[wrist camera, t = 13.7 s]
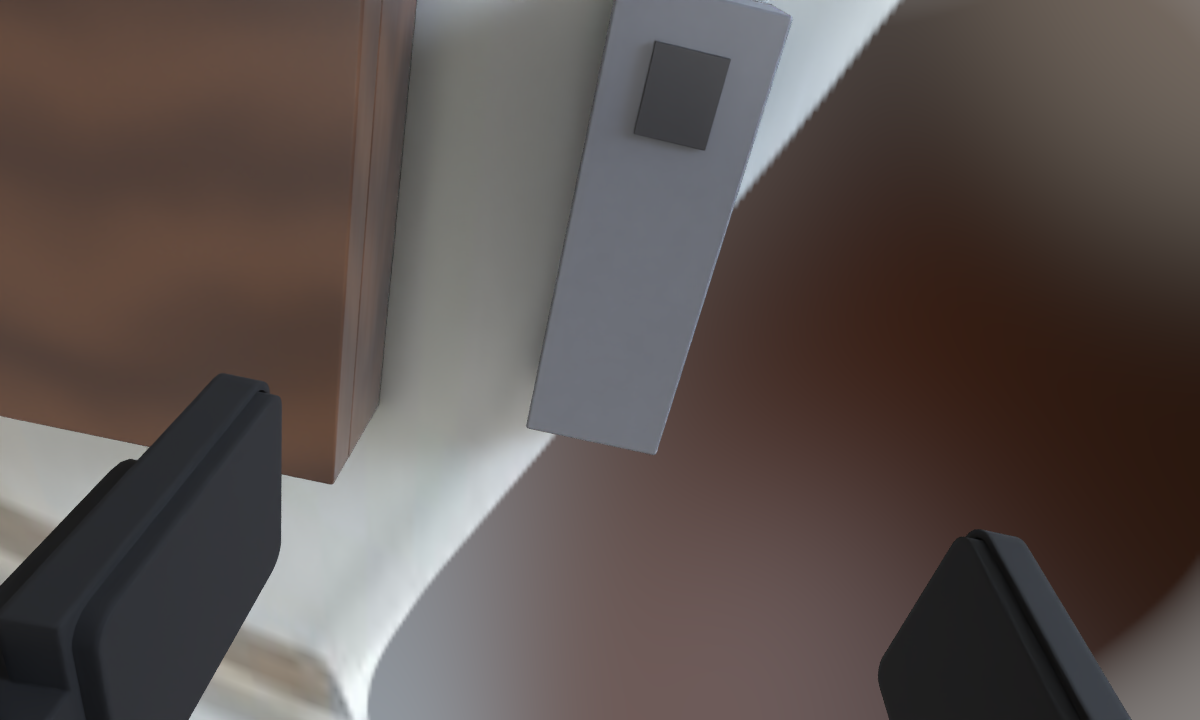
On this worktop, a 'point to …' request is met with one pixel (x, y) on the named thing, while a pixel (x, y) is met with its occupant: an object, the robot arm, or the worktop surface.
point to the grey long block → (651, 210)
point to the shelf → (199, 211)
